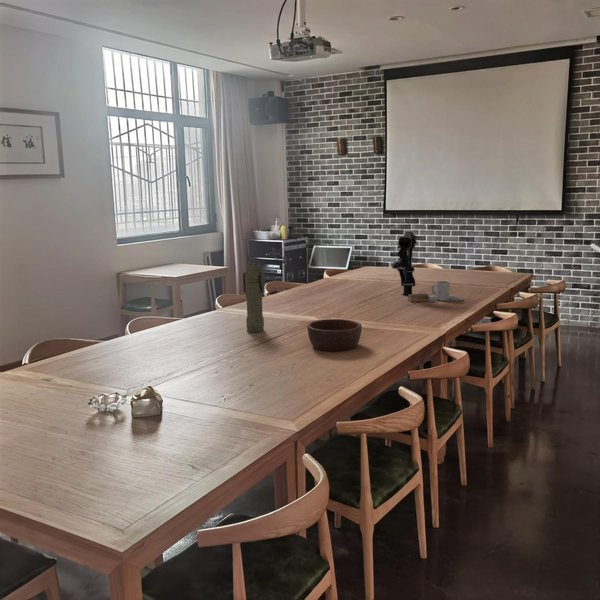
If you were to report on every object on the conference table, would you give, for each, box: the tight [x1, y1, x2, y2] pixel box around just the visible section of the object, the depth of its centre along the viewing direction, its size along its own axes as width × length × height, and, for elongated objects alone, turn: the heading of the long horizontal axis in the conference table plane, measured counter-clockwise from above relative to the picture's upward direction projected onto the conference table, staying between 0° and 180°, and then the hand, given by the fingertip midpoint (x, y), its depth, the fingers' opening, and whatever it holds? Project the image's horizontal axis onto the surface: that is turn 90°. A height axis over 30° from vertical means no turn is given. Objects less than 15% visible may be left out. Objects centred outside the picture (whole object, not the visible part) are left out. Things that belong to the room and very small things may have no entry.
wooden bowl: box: [307, 318, 363, 352], centre depth 286 cm, size 25×25×10 cm
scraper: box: [407, 292, 436, 303], centre depth 389 cm, size 11×14×4 cm
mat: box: [434, 295, 464, 303], centre depth 393 cm, size 15×14×1 cm
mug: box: [431, 280, 451, 301], centre depth 391 cm, size 12×8×11 cm
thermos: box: [242, 262, 266, 334], centre depth 316 cm, size 9×12×35 cm
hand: (404, 281), depth 394 cm, fingers open, 9 cm apart
